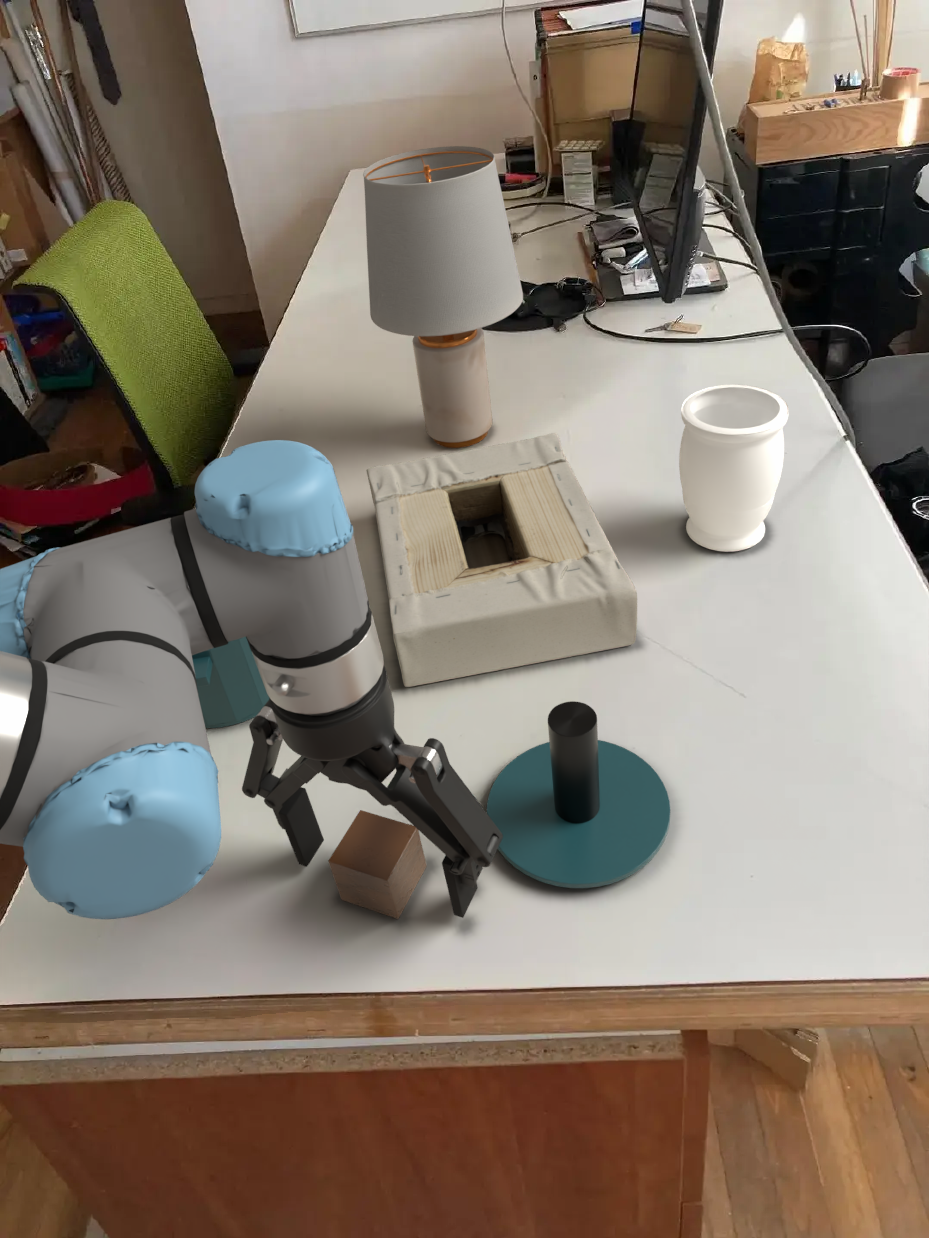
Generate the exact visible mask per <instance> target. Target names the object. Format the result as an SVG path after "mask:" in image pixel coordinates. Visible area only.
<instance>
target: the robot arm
mask: <svg viewBox="0 0 929 1238" xmlns="http://www.w3.org/2000/svg"><path fill="white" fill-rule="evenodd" d="M194 496H195V505H194V507H195V508H192V509H190V510H186V511H184V512H183V514H180V515H176V516H172V517H168V518H165V519H161V520H156V521H154V522H149V523H146V524H143V525H139V526H135V527H131V528H128V529H124V530H121V531H117V532H113V533H110V534H106V535H103V536H99V537H94V538H91V539H88V540H84V541H81V542H76V543H73V544H70V545H66V546H62V547H53V548H49V549H46V550H45V551H44V552H41V553H39V554H38V555H36V556H33V557H29V558H28V559H25V560H22V561H19V562H16V563H14V564H10V565H7V566H5V567H2V568H0V844H2V845H8V846H14V847H22V849H23V853H24V854H23V860H24V863H25V864H26V865H27V870H28V876H29V879H30V882H31V884H32V886H33V887H34V889H35V890H36V891H37V893H38V894H39V895H40V896H41V897H42V898H44V899H45V900H46V902H48V903H54V904H55V905H58V906H59V907H62V908H64V909H65V911H66V913H68V914H70V915H73V916H76V917H79V918H85V919H92V920H118V919H126V918H131V917H137V916H140V915H141V916H142V915H144V914H149V913H151V912H154V911H156V910H159V909H161V908H164V907H165V906H168V905H170V904H172V903H173V902H175V901H177V900H179V899H180V898H181V897H183V896H185V895H186V894H188V893H189V892H190V891H191V890H192V889H193V888H194V887H196V886H197V885H198V884H199V883H200V881H201V880H202V879H203V878H204V877H205V875H206V874H207V872H208V871H210V869H211V867H212V866H214V861H215V860H216V858H217V855H218V853H219V850H220V845H221V840H222V821H221V808H220V807H221V806H220V796H219V776H218V775H219V769H218V766H217V764H216V761H215V760H214V757H213V756H212V751H211V747H210V746H211V745H210V741H209V738H208V733H207V728H205V724H204V719H203V715H202V710H201V706H200V701H199V697H198V695H199V693H198V689H197V682H196V676H195V671H194V665H193V660H192V655H194V654H197V653H200V652H203V651H206V650H209V649H212V648H217V647H220V646H223V645H227V644H228V642H229V641H233V640H236V639H240V638H243V637H246V639H247V641H248V644H249V647H250V649H251V651H252V654H253V657H254V659H255V662H256V665H257V667H258V670H259V673H260V676H261V678H262V681H263V684H264V687H265V689H266V692H267V694H268V696H269V700H268V702H267V703H266V704H265V705H264V707H263V708H262V709H261V710H260V712H259V713H258V714H257V715H256V717H254V718H252V721H250V722H249V724H248V726H249V731H250V736H251V738H252V742H253V743H252V747H251V749H250V750H251V751H250V755H249V759H248V763H247V767H246V770H245V774H244V779H243V783H242V786H241V791H242V793H243V795H245V796H246V797H248V798H250V799H255V798H256V797H257V796H260V797H261V798H263V801H264V802H263V803H264V805H266V807H267V808H269V809H271V810H272V811H273V813H274V816H275V819H276V821H277V824H278V826H279V827H280V828H281V829H282V830H284V832H285V834H286V836H287V838H288V841H289V844H290V846H291V848H292V850H293V851H292V852H293V853H294V856H295V859H296V861H297V863H298V865H300V866H302V867H305V868H308V866H309V865H310V863H311V861H312V859H313V858H314V857H315V855H316V854H317V852H318V851H319V849H320V847H321V845H322V844H323V843H324V841H325V839H324V837H323V833H322V830H321V828H320V824H319V823H318V819H317V817H316V814H315V811H314V809H313V805H312V803H311V800H310V798H309V794H308V792H307V789H306V787H303V786H304V785H305V784H306V785H307V784H308V783H309V782H311V780H312V779H314V778H315V777H316V776H317V775H318V774H320V773H321V774H322V775H323V776H325V777H327V779H328V781H331V782H334V783H338V784H347V785H350V786H351V787H354V788H356V789H359V790H363V791H366V792H367V793H368V794H369V795H370V796H371V797H373V799H375V800H376V801H377V802H378V803H379V804H380V805H381V806H383V807H387V806H392V808H394V809H395V810H396V811H397V812H398V813H399V814H401V815H402V816H403V817H404V818H405V819H406V820H407V821H408V822H409V824H411V825H413V826H415V827H416V828H417V829H418V831H419V833H421V834H422V835H423V836H425V838H427V840H429V841H430V842H431V843H432V844H433V845H434V846H435V847H436V848H438V850H439V851H441V852H442V853H443V854H444V855H445V856H444V857H443V859H442V861H441V866H442V870H443V874H444V877H445V882H446V888H447V892H448V895H449V900H450V905H451V908H452V912H453V916H456V917H459V918H462V919H464V917H465V915H466V913H467V911H468V909H469V907H470V905H471V903H472V901H473V898H474V896H475V894H476V892H477V890H478V880H479V877H480V875H481V873H482V871H483V869H484V868H488V867H490V866H491V864H492V862H493V860H494V857H495V855H496V853H497V851H498V847H499V845H500V843H501V841H502V838H503V835H502V833H501V832H500V830H499V829H498V828H497V826H496V825H495V824H494V822H493V821H492V820H491V818H490V817H489V816H488V814H487V811H486V810H485V809H484V807H483V806H482V804H481V803H480V802H479V801H478V799H477V798H476V796H474V794H473V793H472V792H471V790H470V789H469V787H468V786H467V785H466V784H465V783H464V781H463V780H462V778H461V776H459V774H458V773H457V772H456V770H455V769H454V768H453V766H452V765H451V762H450V761H449V758H448V756H447V752H446V749H445V746H444V744H443V743H442V742H441V741H440V740H439V739H437V738H434V737H429V738H428V739H426V742H425V743H424V745H423V746H419V745H418V746H417V745H413V744H406V743H405V741H404V740H403V738H402V737H401V736H400V735H399V733H398V732H397V730H396V728H395V702H394V697H393V694H392V689H391V686H390V682H389V677H388V673H387V669H386V666H385V662H384V654H383V650H382V646H381V643H380V639H379V635H378V631H377V627H376V624H375V619H374V616H373V612H372V610H371V606H370V601H369V597H368V592H367V589H366V585H365V584H366V583H365V579H364V576H363V570H362V567H361V562H360V557H359V553H358V549H357V544H356V540H355V536H354V526H353V524H352V522H351V520H350V517H349V515H348V511H347V507H346V505H345V501H344V498H343V495H342V490H341V489H340V485H339V481H338V479H337V475H336V471H335V469H334V466H333V464H332V463H331V461H330V460H329V459H328V458H327V457H326V456H325V454H324V453H322V452H320V451H319V450H317V449H316V448H314V447H313V446H311V445H309V444H306V443H302V442H299V441H293V440H287V439H286V440H285V439H272V440H261V441H257V442H256V441H255V442H251V443H248V444H245V445H241V446H237V447H236V448H234V449H232V451H231V452H230V454H228V455H227V456H223V457H217V458H215V459H213V460H212V461H210V462H209V463H208V464H207V465H206V466H205V467H204V468H203V470H202V471H200V473H199V475H198V477H197V479H196V482H195V485H194ZM283 742H284V743H285V744H286V746H287V747H288V748H289V749H290V750H292V751H293V752H294V753H295V754H297V755H299V757H298V758H297V760H296V761H294V762H293V764H291V765H290V766H289V767H288V768H286V769H285V770H284V771H283V773H282V774H281V775H280V777H278V776H276V775H274V771H275V767H276V764H277V760H278V757H279V754H280V750H281V747H282V743H283ZM394 770H395V774H394V775H393V777H392V779H391V780H390V782H389V783H388V785H387V786H386V785H385V784H384V783H383V782H385V780H386V779H387V778H388V777H389V776H390V775H391V774H392V773H393V772H394Z"/></svg>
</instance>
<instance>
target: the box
mask: <svg viewBox="0 0 929 1238" xmlns="http://www.w3.org/2000/svg"><path fill="white" fill-rule="evenodd" d="M366 476H367V480H368V484H369V489H370V493H371V499H372V502H373V506H374V511H375V518H376V523H377V530H378V536H379V542H380V551H381V555H382V563H383V569H384V570H383V571H384V575H385V577H384V578H385V583H386V589H387V590H386V591H387V597H388V605H389V614H390V615H389V616H390V622H391V627H392V638H393V643H394V646H395V651H396V654H397V655H396V656H397V659H398V664H399V668H400V673H401V678H402V683H403V686H404V687H406V688H409V687H415V686H422V685H427V684H433V683H437V682H443V681H448V680H453V679H458V678H464V677H470V676H475V675H480V674H485V673H491V672H496V671H501V670H507V669H511V668H517V667H522V666H527V665H528V666H529V665H533V664H538V663H539V664H540V663H543V662H544V663H545V662H550V661H554V660H555V661H556V660H559V659H565V658H570V657H576V656H581V655H587V654H591V653H592V654H593V653H596V652H598V653H599V652H602V651H607V650H612V649H618V648H622V647H628V646H632V645H634V644H635V643H636V639H637V631H638V630H637V629H638V591H637V588H636V587H635V585H634V583H633V581H632V579H631V577H630V576H629V575H628V573H627V571H626V570H625V569H624V567H623V565H622V564H621V563H620V561H619V559H618V557H617V555H616V554H615V551H614V549H613V547H612V545H611V544H610V541H609V540H608V538H607V536H606V534H605V532H604V529H603V528H602V526H601V523H600V522H599V520H598V518H597V516H596V514H595V512H594V510H593V508H592V506H591V504H590V502H589V500H588V498H587V496H586V494H585V491H584V490H583V489H582V486H581V484H580V482H579V480H578V479H577V476H576V474H575V472H574V470H573V468H572V467H571V464H570V463H569V460H568V459H567V456H566V454H565V452H564V450H563V449H562V443H561V438H560V436H559V435H558V433H557V432H551V433H548V434H543V435H539V436H536V437H531V438H525V439H521V440H515V441H511V442H505V443H499V444H495V445H489V446H484V447H478V448H474V449H473V448H472V449H469V450H461V451H458V452H457V451H456V452H452V453H445V454H440V455H435V456H429V457H425V458H418V459H414V460H408V461H403V462H397V463H392V464H384V465H376V466H375V465H374V466H371V467H367V469H366Z"/></svg>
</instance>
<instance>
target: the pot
mask: <svg viewBox="0 0 929 1238" xmlns="http://www.w3.org/2000/svg"><path fill="white" fill-rule="evenodd" d="M192 660H193V665H194V671H195V676H196V682H197V689H198V693H199V695H198V697H199V701H200V706H201V710H202V715H203V719H204V724H205V728H206V729H217V728H225V727H230V726H235V725H238V724H242V723H244V722H247V721H250V720H253V719H254V718H255V717H256V715H257V714H258V713H259V712H260V710H261V709H262V708H263V707H264V705H265V704H266V703H267V702H268V700H269V696H268V694H267V692H266V689H265V687H264V684H263V681H262V678H261V676H260V673H259V670H258V667H257V665H256V662H255V659H254V657H253V654H252V651H251V649H250V647H249V644H248V641H247V639H246V637H243V638H240V639H236V640H233V641H229V642H228V644H227V645H223V646H220V647H217V648H212V649H209V650H206V651H203V652H200V653H197V654H194V655H192Z"/></svg>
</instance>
